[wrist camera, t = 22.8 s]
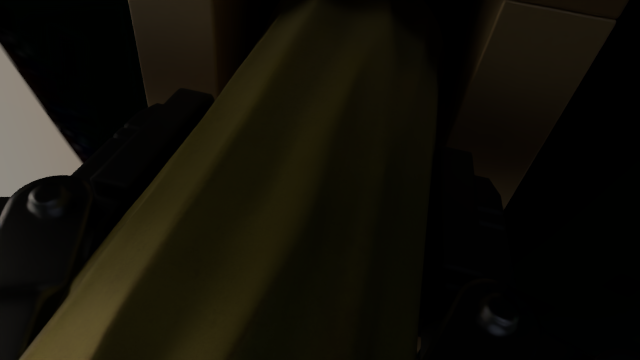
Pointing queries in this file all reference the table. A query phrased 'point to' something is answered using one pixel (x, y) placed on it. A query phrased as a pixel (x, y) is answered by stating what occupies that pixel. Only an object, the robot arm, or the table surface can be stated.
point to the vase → (280, 206)
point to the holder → (458, 83)
